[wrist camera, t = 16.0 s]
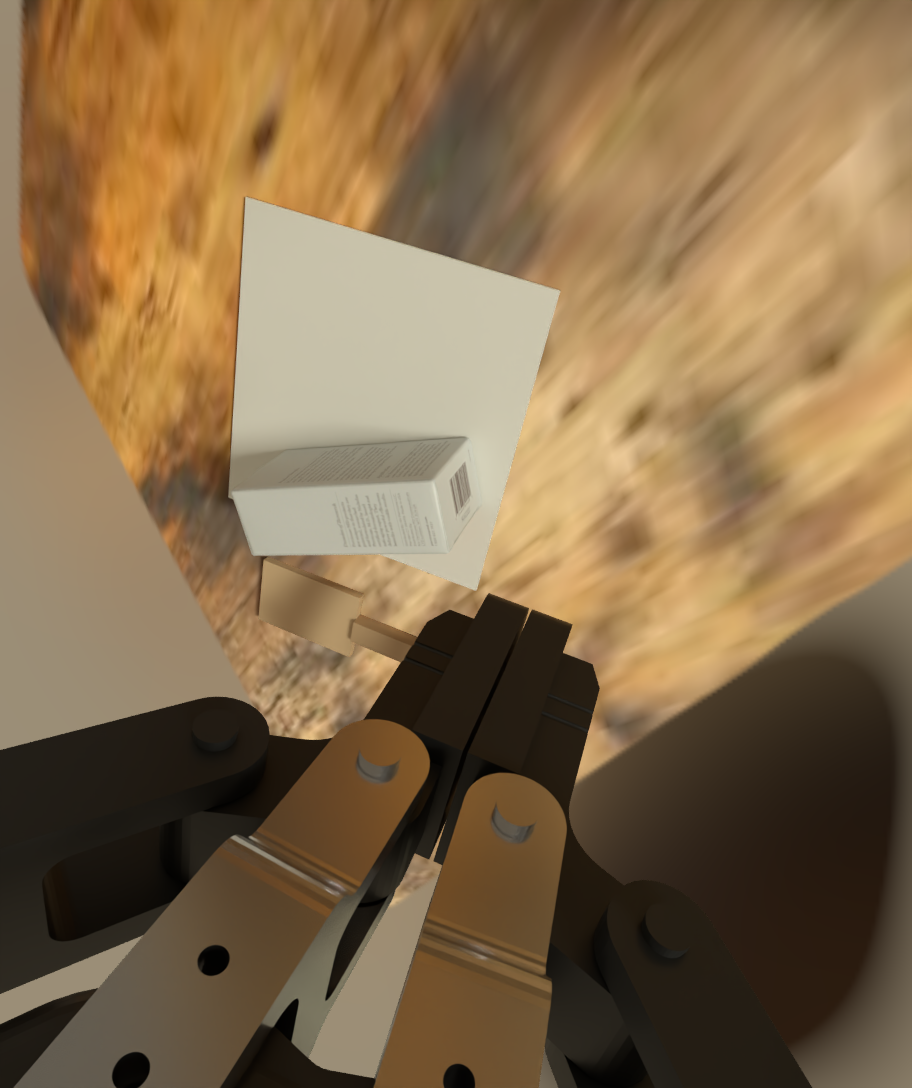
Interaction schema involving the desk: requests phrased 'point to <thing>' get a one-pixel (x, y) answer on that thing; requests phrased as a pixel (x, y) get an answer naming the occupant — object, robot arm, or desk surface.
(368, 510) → the skincare box
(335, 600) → the wooden turner
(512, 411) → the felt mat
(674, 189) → the desk surface
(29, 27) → the desk surface
